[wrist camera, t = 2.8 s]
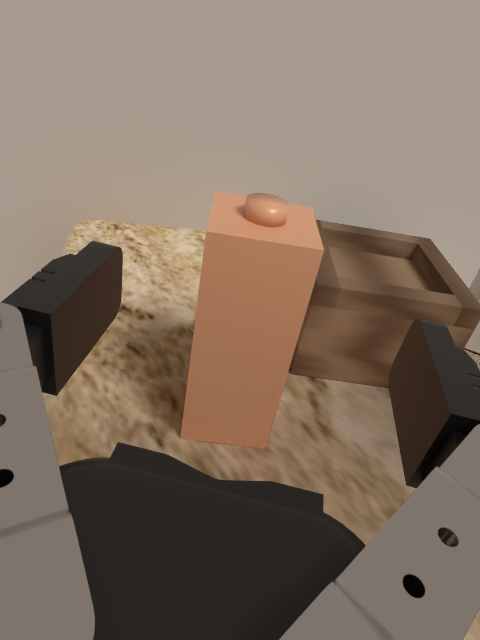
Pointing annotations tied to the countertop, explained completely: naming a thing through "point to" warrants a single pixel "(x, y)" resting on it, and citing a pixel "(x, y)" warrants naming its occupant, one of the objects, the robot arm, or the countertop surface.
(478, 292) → the milk carton
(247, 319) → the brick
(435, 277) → the wooden box
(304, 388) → the countertop surface
